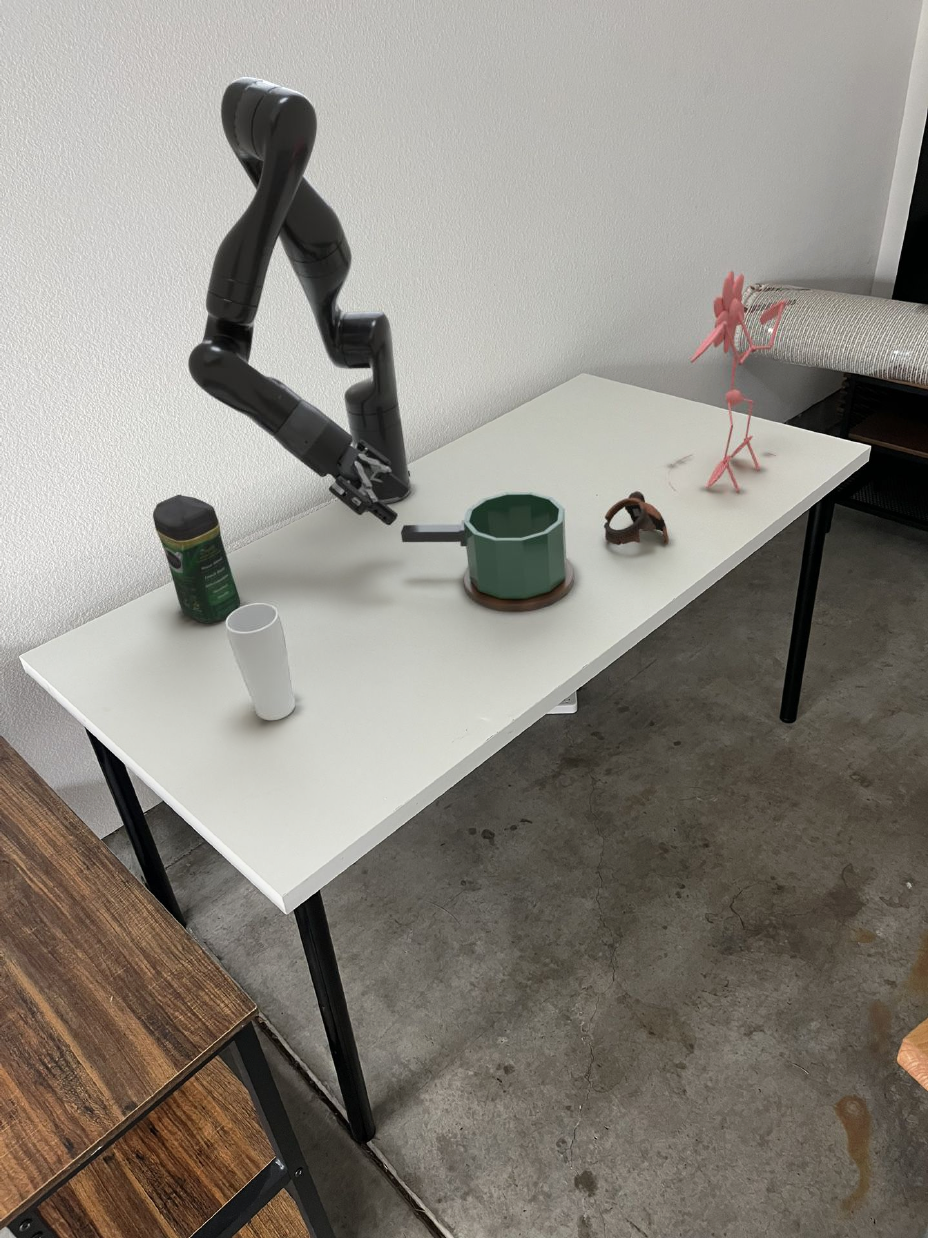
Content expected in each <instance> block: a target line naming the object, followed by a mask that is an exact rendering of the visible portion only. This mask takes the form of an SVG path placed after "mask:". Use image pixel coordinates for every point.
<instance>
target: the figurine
mask: <svg viewBox="0 0 928 1238" xmlns="http://www.w3.org/2000/svg"><path fill="white" fill-rule="evenodd" d="M744 282H745V275H744V274H742V273H740V274H739V275H737V277H736V278H735V273H734V271H733V270H730V271H729V272H728V274H727V277H725V278H724V282H723V285H722V290H721V291H722V293H721V296H715V298H714V300H713V313H714V316H715V320H714V329H713V330H712V331H711V332H710V333H709V334H708V335H707V337H705V339H704V340H703V341H702V343H701V344H700V345H699V347H698V348H697V350H696V351H695V353H694V354H693V356H692V357H691V359H690V363H691V364H692V363H694V362H695V361H696V360H697V359H699V358H700V357H701V356H702V355H703V354H704V353H705V352H706V351H707V350H708V349H709V348H710V347H711V346H712V344H713V347H714V348H718V347H719V346H720V345H721V344H722V343H723V347H722V348H723V352H724V353H725V354H727V353H728V352H729V351H730V348H731V349H732V352H733V354H734V356H733V357H734V358H733V359H732V367H731V368H732V369H731V381H730V389H729V391H728V392H726V394H725V398H724V399H725V402H726V404H727V405H728V406H727V407H728V415H729V422H730V430H729V432H728V433H729V434H728V438H727V442H726V448H725V452H724V456H723V458H722V459H721V460H720V462H718V464H717V465H716V466H715V468H714V470H713V471H712V473H711V475H710V477H709V479H708V481H707V484H706V485H705V488H706V489H709V488H710V487H712V485H714V484H715V483H716V482H717V481H719V480H720V478H721V477H722V475H723V474H724V473H725V471H726V470H727V471H728V475H729V477H730V479H731V481H732V484H733V486H734V488H735V491H736V492H739V491H740V488H739V485H738V482H737V480H736V478H735V476H734V473H733V471H732V468H731V466H730V462H731V459H733V458H734V457H735V456H736V455H737V454H738V453H740V452H741V451H742V449H744V447H745V446H746V447H747V448H748V451H749V453H750V456H751V458H752V461H753V464H754V466H755V468H756V471H759V470H761V468H760V465H759V463H758V459H757V457H756V455H755V452H754V450H753V447H752V445H751V442H750V441H751V440H752V439H753V435H750V436H748V434H749V430H750V423H751V417H752V411H753V406H754V401H753V400H752V399H748V398H743V395H742V392H741V391H740V390H738V389H734V384H735V377H736V367H737V364H738V366H739V367H741V366H742V364H743V363H744V362H745V361H746V359H747V358H748V356H749V355H750V354H751V353H756V351H762V350H772V347H773V344H774V341H775V338H776V334H777V331H778V328H779V324H780V321H781V318H782V314H783V311H784V310H785V308H786V306H787V301H786V300H785V299H781V300H780V301H779V302H777V303H774V304H773V305H772V306H770V307H769V308H768V309H766V310H765V311H764V312H763V313H761V316H760V318H759V323H760V325H761V326H763V325H764V324H767V323H768V322H770V321H771V320H773V319H774V318H776V319H775V323H774V326H773V330H772V333H771V337H770V340H769V344H768V345H763V346H762V345H761V346H756V345H754V343H753V340H752V338H751V335H750V334H749V331H748V327H747V326H746V323H745V307H744V304H743V302H742V301H743V294H742V293H743V288H744ZM737 326H741V328H742V330H743V332H744V335H745V337H746V340H747V343H748V345H749V348H748V350H746V351H744V352H742V353H739V352H738V350H737V348H736V345H735V342H734V339H735V334H736V329H737V328H736V327H737ZM742 401H744V402H748V403H750V404H749V411H748V417H747V422H746V423H747V424H746V431H745V436H744V438H743V441H742V443H740V444H739V446H738V447H737V448H736V449H735V450H734V451H733V452H732V453H731V454H730V455H728V451H729V446H730V442H731V438H732V433H733V430H734V423H733V414H732V407H736V406H738V405H740V403H741V402H742ZM767 454H768V455H772V456H774V457H777V455H776V454H773V453H770V452H767ZM693 455H694V454H689V455H687V456H685V457H683V458H681V459H679V460H678V461H676V462H675V463H674V464H672V463H671V464H670V465H669V467H668V468H670V469H669V471H668V473H670V472H671V469H672V468H674V466H675V465H677V464H678V463H679V462H681V461H682V460H684V459H686V458H689V457H692V456H693ZM670 466H671V467H670ZM665 481H666V478H665ZM668 484H669V486H671V488H672V489H673V491H675V492H676V491H677V490H676V489H675V488H674V487H673V486H672V485H671V483H670V482H668Z"/></svg>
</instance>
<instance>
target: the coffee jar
mask: <svg viewBox="0 0 928 1238" xmlns="http://www.w3.org/2000/svg"><path fill="white" fill-rule="evenodd" d="M152 518H153V524H154V528H155V531H156V533H157V536H158V538H159V540H160V543H161V546H162V548H163V550H164V553H165V557H166V561H167V564H168V567H169V572H170V576H171V578H172V582H173V585H174V589H175V594H176V596H177V600H178V604H179V606H180V609H181V611H183V612H184V614H186V615H187V616H188V617H190V618H191V619H193V620H196V621H197V622H200V623H202V624H210V623H214V622H218V621H222V620H226V619H227V617H228V616H229V615H230V614H231V613H232V612H233V611H235V610H236V609H238V608H240V607H241V604H242V603H241V598H240V595H239V591H238V588H237V585H236V582H235V579H234V576H233V572H232V569H231V566H230V563H229V559H228V556H227V553H226V549H225V547H224V543H223V538H222V534H221V533H222V532H221V526H220V525H221V524H220V521H219V519H218V516H217V513H216V510H215V508H214V506H212V505H211V504H209V503H207V502H205V501H204V500H201V499H199V498H196V497H192V496H187V495H182V494H176V495H174V496H172V497H169V498H167V499H165V500H163V501H160V502H158V503H157V504H156V505H155V508H154V510H153V512H152Z"/></svg>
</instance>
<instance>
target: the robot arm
mask: <svg viewBox="0 0 928 1238" xmlns="http://www.w3.org/2000/svg"><path fill="white" fill-rule="evenodd" d="M220 119H221V125H222V129H223V133H224V136H225V138H226V141H227V143H228V146H229V147H230V148H231V150H232V152H233V154H234V155H235V157H236V158H237V160H238V162H239V164H240V165H241V167H242V169H243V170H244V172H245V174H246V175H247V176H248V178H249V180H250V182H251V183H252V185H253V187H254V189H255V192H254V196H253V197H252V200H251V201H250V203H249V205H248V206H247V207H246V209H245V211H244V212H243V213H242V214H241V216H240V217H239V218H238V220H237V221H236V222H235V223H234V224H233V225H232V227H231V228H230V230H229V231H228V232H227V233H226V234H225V236H224V238H223V239H222V241H221V242H220V244H219V246H218V248H217V251H216V253H215V256H214V259H213V264H212V268H211V272H210V277H209V280H208V281H209V282H208V287H207V291H206V296H205V309H206V311H207V318H206V323H205V327H204V333H203V338H202V341H201V342H200V343H198V344H196V346H195V347H194V348H193V349H192V350H191V352H190V354H189V357H188V362H187V368H188V372H189V374H190V376H191V378H192V380H193V381H194V382H195V383H196V385H197V386H198V387H199V388H200V389H201V390H202V391H204V392H205V393H206V394H207V395H209V396H210V397H212V398H213V399H215V400H217V401H218V402H220V403H221V404H224V405H225V406H227V407H229V408H231V409H232V410H234V411H236V412H238V413H240V414H242V415H244V416H245V417H247V418H249V419H250V420H251V421H252V422H253V423H254V424H255V425H257V426H258V427H259V428H261V429H262V430H263V431H264V432H266V433H267V434H268V435H269V436H271V437H273V439H274V440H275V441H276V442H277V443H279V445H280V446H281V447H283V449H285V450H286V451H287V452H288V453H290V454H291V455H292V456H293V457H295V458H296V459H297V460H298V461H300V462H301V463H302V464H304V465H305V467H307V468H309V469H310V470H311V471H312V472H314V473H315V474H316V475H317V476H318V477H321V478H324V477H326V476H327V475H330V476H331V477H332V478H333V480H334V481H333V483H332V484H331V485H330V486H329V487H328V490H329V492H330V493H331V494H332V495H333V496H335V497H336V498H337V499H338V500H340V501H341V502H342V504H344V505H346V506H347V507H348V508H349V509H350V510H351V511H353V512H354V513H355V514H356V515H357V516H362V515H363V514H364V513H368V512H369V513H371V514H372V515H373V516H374V517H376V518H377V519H379V521H380V522H382V523H383V524H384V525H386V526H391V525H392V524H393V523H394V522H395V521H396V520H397V518H398V513H397V512H396V511H394V510H393V509H392V508H391V507H389V506H388V505H387V504H390V503H395V502H398V501H401V500H403V499H405V498H406V497H408V496H409V494H410V493H411V492H412V485H411V481H410V478H411V472H410V470H409V468H408V467H409V466H408V460H407V453H406V446H405V440H404V433H403V432H404V431H403V426H402V419H401V412H400V404H399V396H398V385H397V376H396V375H397V374H396V367H395V356H394V343H393V334H392V327H391V323H390V321H389V320H390V319H389V318H388V316H387V315H386V313H385V312H383V311H381V310H366V311H365V310H364V311H363V310H362V311H343V310H342V309H341V308H340V306H339V305H338V301H339V297H340V295H341V292H342V290H343V288H344V286H345V284H346V283H347V279H348V278H349V274H350V271H351V268H352V261H353V260H352V258H353V255H352V250H351V247H350V244H349V241H348V238H347V236H346V233H345V230H344V228H343V225H342V223H341V220H340V218H339V217H338V214H337V212H336V211H335V210H334V209H333V207H332V206H331V205H330V203H329V202H328V201H327V199H326V198H325V197H324V195H322V194H321V193H320V191H319V190H318V189H317V188H316V187H315V185H314V184H313V183H312V182H311V180H310V179H309V178H308V177H307V176H306V175H305V172H306V170H307V167H308V164H309V162H310V159H311V156H312V153H313V150H314V147H315V143H316V138H317V132H318V117H317V113H316V109H315V107H314V105H313V103H312V101H311V100H310V99H309V98H308V97H307V96H306V95H304V94H302V93H301V92H299V91H296V90H293V89H291V88H289V87H284V86H281V85H279V84H276V83H273V82H270V81H267V80H265V79H261V78H256V77H250V76H249V77H247V76H243V77H239V78H236V79H235V80H233V81H232V82H230V83H229V84H228V86H227V87H225V90H224V92H223V94H222V100H221V102H220ZM278 239H279V241H280V244H281V246H282V249H283V251H284V253H285V255H286V258H287V259H288V262H289V264H290V267H291V268H292V269H291V270H292V271H293V272H294V274H295V276H296V279H297V280H298V282H299V284H300V287H301V289H302V291H303V294H304V295H305V298H306V300H307V302H308V305H309V307H310V309H311V312H312V315H313V317H314V321H315V323H316V327H317V330H318V332H319V336H320V339H321V343H322V345H323V347H324V350H325V353H326V355H327V358H328V359H329V361H330V363H331V364H332V365H333V366H334V367H335V368H338V369H342V370H343V369H344V370H363V369H364V370H365V369H366V370H367V369H369V370H371V371H372V372H371V375H370V376H369V377H368V378H366V379H363V380H361V381H358V382H356V383H353V384H352V385H350V386H349V387H348V388H346V390H345V392H344V397H343V399H344V406H345V410H346V411H345V412H346V417H347V420H348V421H347V422H348V426H349V427H348V428H349V433H348V431H347V430H345V429H344V428H343V427H341V426H340V425H339V424H337V423H336V422H335V421H334V420H333V419H331V418H330V417H329V416H328V415H326V414H325V413H324V412H323V411H322V410H320V409H319V408H318V407H316V406H315V405H314V404H312V403H310V402H308V401H306V399H304V398H303V397H301V396H300V395H299V394H297V393H296V392H295V391H294V390H292V389H291V387H289V386H287V385H286V384H285V383H284V382H282V381H281V380H280V379H277V378H276V377H274V376H273V377H272V376H266V375H264V374H263V373H261V372H260V371H258V370H257V369H256V368H254V366H251V365H250V364H249V362H250V357H251V352H252V346H253V338H254V337H253V336H254V329H255V320H256V317H257V314H258V311H259V307H260V303H261V299H262V296H263V295H262V294H263V290H264V286H265V282H266V277H267V273H268V270H269V265H270V263H271V259H272V255H273V252H274V249H275V247H276V243H277V241H278ZM354 501H356V502H357V503H358V504H357V503H356V502H354Z"/></svg>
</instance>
